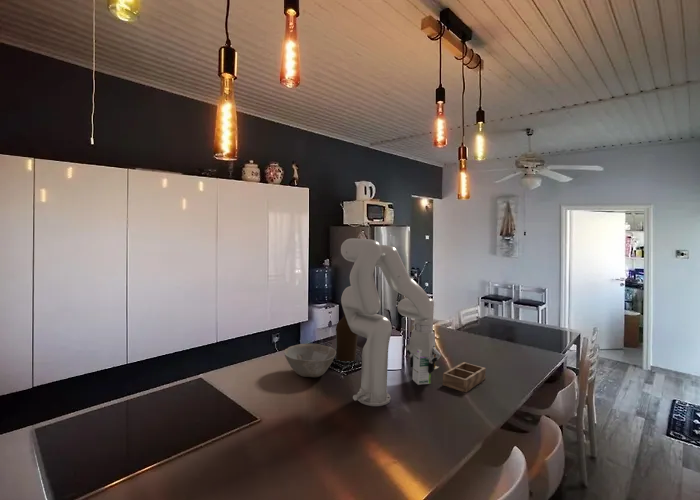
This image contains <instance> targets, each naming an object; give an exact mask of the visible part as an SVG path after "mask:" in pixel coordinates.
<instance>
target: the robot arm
mask: <svg viewBox="0 0 700 500" xmlns="http://www.w3.org/2000/svg"><path fill="white" fill-rule="evenodd" d="M340 255H341V256H342V257H343V258H344V260H346V261H347V262H350V263H351V262H352V263H354V264H353V265H352V268H351V270H350V272H349V273H350V274H349V283H350V286H347V287H345V289H344V290H343V292H342V295H341V299H340V301H341V302H340V303H341V307H342V310H343V314H344V313H345V316H346V319H347V322H348V325H349V327H350V329H351V331H352V332H353V333H355V334H357V335H358V336H360V337H363V338H365V339H366V341H365V344H364V345H363V347H362V352H361V375H360V376H361V377H360V378H361V381H360V383H361V384H360V388H359V391H358V392H357V393H355V394H354V395H353V396H352V399H353V400H354V401H355V402H356V401H358V403H361V404H363V405H365V406H370V407H382V406H385V405H387V404H389V403H390V402H391V398H392V397H391V394H389V392H388V391H387V390H388V389H387V388H388V365H389V363H388V362H389V345H390V340H391V336H392V331H393V330H392V329H393V325H392V323H391V321H390V319H388V318H387V317H386V316H384V315H382V314H378V313H379V312H380V309H381V307H382V305H381V299H380V296H379V292H378V288H377V285H376V281H375V277H374V272H375V269H376V267H377V268H380V270H381V272H382V274H383V276H384V278H385V280H386V282H387V284H388V286H389V287H390V289H392V290H394V291H395V292H396V293H398V294H400V295H402V296H404V297H405V298H403V299H401V300H399V302H398V303H397V312H398V313H399V314H400V315H401V316H403V317H405V318H409V319H414V322H412V324H411V326H413V328H412V330H411V334H410V339H409V343H407V344H406V345H405V346H404V348H405V350H406V353H407V354H408V357H409V358H410V362H409V364H410V366H409V367H410V368H413V355H414V354H416V355H417V350H418V349H420V350H422V356H423V357H427V358H428V359H429V362H430V363H429V364H428V373H431V374H432V373H433V372H434V370H435V369H434V362H437V361H438V360H439V359H440V358H441V357H442V354H441V352H439V350H437V347H436V348H435V342H436V336H435V332H434V330H433V328H434V312H435V311H434V307H435V302H434V300H433V298H431V297H429V296H428V293H427V292H426V291H425V290H424V288H422V287H421V286H420V285H419V284H418V282H417V281H415V280H414V279H413V278H412V277H411V276H410V275H409V273H408V271H407V269H406V267H405V264H404V263H403V260H402V258H401V256H400V254H399V251H398V250H397V248H396V247H395V246H392V245H387V244H380V243H379V242H378V241H377V240H374V239H371V238H370V239H369V238H355V237H354V238H347V239H346V240H344V241H343V242H342V244H341V246H340ZM435 354H436V357H435V358H434V356H433V355H435ZM431 356H432V357H431Z"/></svg>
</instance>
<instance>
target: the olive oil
mask: <svg viewBox="0 0 700 500" xmlns="http://www.w3.org/2000/svg"><path fill="white" fill-rule="evenodd" d="M358 336H359V335H357V334H355V333H353V332H352V331H351V329H350V327H349V325H348V322H347V319H346V316H345V313H344V312H343V317H342V318H340V320H339V321H338V322H337V323H336V327H335V350H336V355H335V359H337V360H340V361H353V360H357V349H358V348H357V346H358V338H359V337H358Z"/></svg>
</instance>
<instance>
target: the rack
mask: <svg viewBox="0 0 700 500" xmlns="http://www.w3.org/2000/svg"><path fill="white" fill-rule="evenodd" d="M486 373H487V370H486V367H483V366H479V365H476V364H471V363H468V362H465V361H464V362H461V363H459V364H457V365H455V366H453V367H452V368H450V369H448V370H447V371H444V372H443V373H442V386H445V387H447V388H450V389H452V390H457V391H459V392H462V393H467V392H469V391H470V390H472V389H474V388H475V387H476V386H478V385H480V384H481V383H482V382H484V381H485V380H486Z"/></svg>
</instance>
